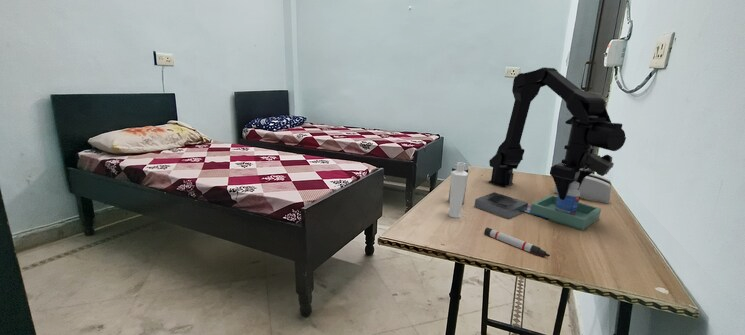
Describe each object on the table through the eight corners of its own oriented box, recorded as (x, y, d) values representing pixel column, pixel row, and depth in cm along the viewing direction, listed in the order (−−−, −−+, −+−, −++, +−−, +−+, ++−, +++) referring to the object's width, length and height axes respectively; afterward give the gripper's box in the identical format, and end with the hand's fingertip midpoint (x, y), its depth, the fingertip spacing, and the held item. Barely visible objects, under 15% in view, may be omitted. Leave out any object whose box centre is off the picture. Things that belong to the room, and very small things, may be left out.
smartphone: (509, 198, 112) (558, 213, 101) (509, 200, 112) (558, 215, 102) (498, 203, 107) (548, 219, 96) (498, 205, 107) (548, 221, 96)
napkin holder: (609, 199, 117) (616, 175, 112) (608, 207, 114) (615, 183, 109) (554, 188, 125) (558, 165, 120) (552, 196, 122) (556, 172, 117)
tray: (529, 213, 101) (531, 203, 100) (549, 203, 110) (551, 194, 109) (582, 230, 91) (584, 220, 90) (598, 218, 100) (601, 208, 99)
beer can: (446, 203, 105) (451, 165, 102) (449, 198, 109) (454, 162, 106) (462, 206, 103) (467, 167, 100) (465, 201, 108) (469, 164, 105)
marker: (483, 235, 85) (484, 228, 85) (487, 233, 87) (488, 226, 86) (547, 261, 75) (549, 253, 74) (551, 258, 76) (552, 250, 76)
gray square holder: (474, 206, 103) (475, 199, 103) (493, 199, 111) (494, 192, 110) (509, 219, 96) (510, 210, 95) (526, 210, 103) (528, 202, 102)
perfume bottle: (453, 219, 93) (460, 166, 89) (443, 213, 97) (449, 162, 93) (466, 217, 95) (474, 164, 91) (456, 211, 99) (462, 160, 95)
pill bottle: (574, 219, 97) (582, 186, 94) (553, 214, 99) (560, 182, 97) (575, 213, 101) (582, 181, 99) (555, 208, 104) (561, 178, 101)
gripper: (602, 152, 83) (588, 212, 87) (623, 145, 95) (610, 198, 99) (554, 144, 91) (543, 199, 95) (579, 138, 103) (568, 187, 107)
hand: (568, 196), depth 99 cm, fingers open, 9 cm apart
